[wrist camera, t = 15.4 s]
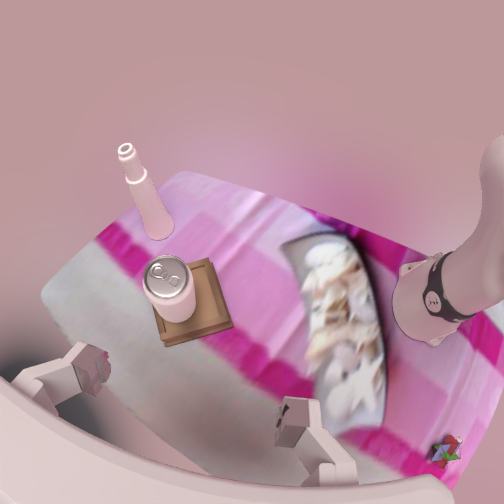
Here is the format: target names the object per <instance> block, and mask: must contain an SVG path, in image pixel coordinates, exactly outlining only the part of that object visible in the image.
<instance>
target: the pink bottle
mask: <svg viewBox="0 0 504 504" xmlns="http://www.w3.org/2000/svg"><path fill="white" fill-rule="evenodd" d="M118 153H119V161H120V163H121V165H122V167H123V169H124V171H125V174H126V182H127V184H128V187H129V190H130V192H131V195H132V197H133V199H134V201H135V204H136V206H137V208H138V211H139V213H140V215H141V218H142V220H143V223H144V226H145V231H146V234H147V235H148V237H149V238H151V239H153V240H162V239H165V238H167V237H168V236H169V235H170V234H171V233H172V231H173V229H174V221H173V219H172V217H171V216H170V215H169V213H168V212H167V210H166V209H165V207H164V205H163V203H162V201H161V199H160V197H159V195H158V193H157V191H156V189H155V187H154V184H153V182H152V180H151V178H150V176H149V174H148V172H147V170H146V169H145V168H143V167H142V164H141V162H140V159H139V157H138V154H137V151H136V149H134V148H133V146H132V144H130V143H126V144H123V145H121V146H120V147H119V149H118Z"/></svg>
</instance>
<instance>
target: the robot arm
mask: <svg viewBox="0 0 504 504" xmlns="http://www.w3.org/2000/svg"><path fill="white" fill-rule="evenodd" d="M480 182H481V189H482V210H481V216H480V219H479V222H478V225H477V227H476V229H475V231H474V232H473V234H472V235H471V236H470V237H469V238H468V239H467V240H466V241H465V242H464V243H463V244H462V245H461V246H460V247H459V248H457V249H456V250H455V251H453V252H449V253H447V254H445V255H443V254H442V253H438V254H436V255H434V256H433V257H432V256H431V257H428V258H427V260H424V261H419V262H413V263H408V264H404V265H402V266H400V268H399V280H398V283H397V285H396V287H395V290H394V293H393V301H392V303H393V312H394V316H395V319H396V321H397V323H398V325H399V327H400V328H401V330H402V331H403V332H404V333H405V334H406V335H407V336H409V337H410V338H412V339H415V340H419V341H424V342H426V343H427V344H429V345H430V346H432V347H436V346H438V345H439V344H440V343H441V342H442V341H443V340H444V338H445V337H446V336H447V335H449V334H451V333H453V332H455V331H456V330H457V328H458V327H459V325H460V324H461V322H463V321H466V320H468V319H470V318H471V317H473V316H474V315H476V313H477V312H479V311H481V310H484V309H486V308H488V307H491V306H493V305H495V304H497V303H499V302H501V301H502V300H503V299H504V134H503V135H500V136H498V137H497V138H495V139H494V140H493V141H492V142H491V143H490V144H489V145H488V147H487V148H486V150H485V152H484V154H483V157H482V160H481V165H480ZM408 268H409V269H410V270H409V269H408ZM108 358H109V356H108V352H106V351H104V350H102V349H100V348H97V347H95V346H93V345H90V344H88V343H86V342H83V341H79V342H78V343H77V344H76V345H75V346H74V347H73V348H72V349H71V350H70V351H69V353H67V354H66V356H65V357H64V358H63V359H60V358H59V359H56V360H53V361H50V362H46V363H43V364H40V365H37V366H33V367H30V368H27V369H24V370H23V371H22V372H21V373H20V374H19V375H18V376H17V377H16V378H15V379H14V380H13V381H12V382H11V383H9V382H7V381H6V380H5V379H4V378H2V377H1V376H0V504H455V502H454V497H453V494H452V492H451V490H450V488H449V487H447V486H446V485H445V484H444V483H442V482H441V481H440V480H439V479H437V478H436V477H434V476H433V475H431V474H423V475H419V476H414V477H409V478H404V479H399V480H393V481H387V482H380V483H372V484H363V485H359V483H358V476H357V468H356V462H355V461H354V460H353V459H352V457H351V456H350V455H349V454H348V453H347V452H346V451H345V450H344V449H343V448H342V446H341V445H340V444H339V443H338V442H337V441H336V440H335V439H334V438H333V436H332V435H331V434H330V433H329V432H328V431H327V430H326V428H322V419H321V409H320V401H319V400H318V399H307V398H298V397H289V396H285V397H284V398H283V400H282V406H281V407H280V408H279V411H278V414H277V419H276V427H277V428H278V429H277V432H276V434H275V446H281V447H290V448H294V450H295V452H296V453H297V455H298V457H299V458H300V460H301V461H302V463H303V465H304V466H305V468H306V469H307V471H308V472H309V474H310V476H309V477H308V478H307V479H306V480H305V481H304V482H303V483H302V484H301V487H294V486H277V485H266V484H257V483H249V482H242V481H235V480H229V479H224V478H218V477H213V476H209V475H204V474H200V473H195V472H191V471H187V470H184V469H180V468H177V467H173V466H170V465H167V464H163V463H160V462H157V461H154V460H151V459H148V458H145V457H143V456H140V455H137V454H135V453H132V452H129V451H127V450H124V449H122V448H120V447H117V446H115V445H113V444H110V443H108V442H106V441H104V440H102V439H99V438H97V437H95V436H93V435H91V434H89V433H87V432H85V431H83V430H81V429H79V428H78V427H76V426H74V425H72V424H70V423H68V422H66V421H65V420H63V419H61V418H60V417H58V412H57V410H56V409H55V407H54V405H56V404H58V403H60V402H62V401H64V400H66V399H68V398H70V397H72V396H74V395H76V394H77V393H80V392H82V391H84V392H86V393H89V394H91V395H93V396H95V397H96V396H97V395H98V393H99V392H100V390H101V389H102V383H104V382H106V381H107V380H108V378H109V376H110V373H111V365H110V363H109V362H108V360H107V359H108Z"/></svg>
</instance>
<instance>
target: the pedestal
mask: <svg viewBox="0 0 504 504" xmlns="http://www.w3.org/2000/svg"><path fill="white" fill-rule="evenodd" d="M186 265H187V266H188V267H189V269H190V271H191V273H192V276H193V282H194V290H195V298H196V307H195V310H194V313H193V314H192V316H191V317H190V318H188V319H187V320H185V321H183V322H180V323H172V322H169V321H166V320H165V319H163V318H162V317H161V316H160V315H159V313H158V312H157V310H156V309H155V307H154V306H153V304H152V306H153V310H154V314H155V318H156V322H157V326H158V330H159V334H160V338H161V340H162V341H164V345H165V347H169V346H172V345H176V344H180V343H183V342H187V341H190V340H194V339H197V338H201V337H204V336H207V335H211V334H214V333H217V332H220V331H224V330H227V329H230V328H233V324H232V321H231V318H230V315H229V312H228V309H227V306H226V303H225V300H224V297H223V294H222V291H221V288H220V285H219V281H218V278H217V275H216V272H215V269H214V266H213V263H212V262H211V263H210V261H209V258H205V259H202V260H198V261H195V262H192V263H188V264H186Z"/></svg>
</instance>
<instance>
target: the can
mask: <svg viewBox="0 0 504 504" xmlns="http://www.w3.org/2000/svg"><path fill="white" fill-rule="evenodd" d="M143 287H144V291H145V293H146V295H147V297H148V298H149V300H150V301H151V303H152V304H153V306H154V307H155V309H156V310H157V312H158V313H159V315H160V316H161V317H162V318H163V319H165V320H166V321H169V322H172V323H180V322H183V321H185V320H187V319H188V318H190V317H191V316H192V314H193V313H194V310H195V307H196V298H195V290H194V282H193V276H192V273H191V271H190V269H189V267H188V266H187V265H186V264H185V263H184V262H183V261H182V260H181V259H180V258H178V257H176V256H173V255H161V256H158V257H156V258H154V259H153V260H151V261H150V262H149V263H148V265H147V266H146V268H145V271H144V275H143Z"/></svg>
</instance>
